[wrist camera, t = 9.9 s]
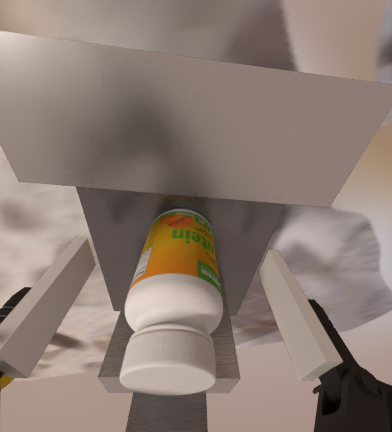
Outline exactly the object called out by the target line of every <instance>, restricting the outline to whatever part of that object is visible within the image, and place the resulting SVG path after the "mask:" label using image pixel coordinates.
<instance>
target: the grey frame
mask: <svg viewBox="0 0 392 432" xmlns="http://www.w3.org/2000/svg"><path fill="white" fill-rule="evenodd" d="M76 188H77V192H78V195H79V198H80V201H81V205H82V208H83V211H84V214H85V218H86V221H87V224H88V227H89V231H90V234H91V237H92V240H93V244H94V247H95V250H96V253H97V257H98V260H99V263H100V266H101V270H102V273H103V276H104V279H105V283H106V286H107V289H108V292H109V296H110V299H111V302H112V305H113V309H114V311H121V312H120V315H119V318H118V320H117V323H116V326H115V329H114V332H113V335H112V338H111V341H110V344H109V346H108V349H107V352H106V355H105V358H104V361H103V364H102V367H101V369H100V372H99V375H98V378H99V380H100V381H101V383H102V384H103V385H104V387H105V388H106V390H107V391H108V393H133V398H132V403H131V407H130V412H129V418H128V422H127V427H126V432H208V430H207V408H206V407H207V406H206V393H230V392H231V390H232V389H233V388H234V386H235V385H236V384H237V383H238V381H239V380H240V373H239V367H238V361H237V355H236V350H235V344H234V338H233V332H232V326H231V320H230V315H236V314H237V312H238V310H239V307H240V305H241V303H242V301H243V298H244V296H245V294H246V292H247V289H248V287H249V285H250V283H251V280H252V278H253V276H254V274H255V271H256V269H257V267H258V265H259V262H260V260H261V258H262V256H263V253H264V251H265V249H266V247H267V244H268V242H269V240H270V238H271V235H272V233H273V231H274V229H275V226H276V224H277V222H278V220H279V217H280V215H281V213H282V211H283V208H284V206H285V204H281V203H269V202H257V201H245V200H233V199H221V198H209V197H197V196H185V195H173V194H161V193H149V192H137V191H125V190H113V189H101V188H89V187H77V186H76ZM173 209H188V210H192V211H195V212H197V213H199V214H200V215H202V216H203V217H204V218H205V219H206V220H207V221H208V222H209V224H210V226H211V229H212V233H213V239H214V247H215V254H216V260H217V267H218V274H219V281H220V287H221V294H222V302H223V315H222V318H221V321H220V323H219V325H218V326H217V328H216V329H215V330H214V331H213V332H212V333H211V334H209V335H210V336H211V338H212V339H213V346H214V349H215V363H216V382H215V384H214V385H213V386H212V387H210V388H208V389H207V390H204V391H200V392H196V393H192V394H185V395H152V394H146V393H141V392H137V391H134V390H131V389H128V388H126V387H125V386H123V385H122V384H121V382H120V378H119V377H120V372H121V368H122V364H123V360H124V356H125V352H126V347H127V344H128V343H129V340H130V338H131V336H132V335H133V334H134V333H135V331H134V330H133V329H132V328H131V327H130V326H129V324H128V322H127V320H126V317H125V302H126V299H127V295H128V292H129V289H130V286H131V283H132V281H133V278H134V275H135V272H136V269H137V266H138V263H139V260H140V257H141V254H142V251H143V248H144V245H145V242H146V240H147V237H148V234H149V231H150V228H151V226H152V224H153V222H154V221H155V219H156V218H157V217H158V216H159V215H161V214H162V213H164V212H166V211H169V210H173Z"/></svg>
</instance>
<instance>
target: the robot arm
mask: <svg viewBox="0 0 392 432" xmlns="http://www.w3.org/2000/svg"><path fill="white" fill-rule="evenodd" d="M95 265H96V264H95V261H94V257H93V254H92V251H91V248H90V245H89V242H88V239H87V238H77V237H76V238H75V239H74V240H73V241H72V242H71V244H70V245H69V246H68V247H67V248H66V249H65V250H64V252H63V253H62V254H61V255H60V256H59V257H58V258H57V260H56V261H55V262H54V263H53V264H52V265H51V267H50V268H49V269H48V270H47V271H46V272H45V273H44V275H43V276H42V277H41V278H40V279H39V280H38V281H37V283H36V284H35V285H34V286H33V287H32V288H30V287H24V288H23V289H21V290H20V291H19V292H17V293H16V294H14V295H13V296H12V297H11V298H10V299H9V300H8V301H7V302H6V303H5V304H4V305H3V308H1V309H0V379H1V377H2V376H3V375H4V374H5V375H7V376H9V377H10V378H29V376H30V374H31V372H32V371H33V369H34V367H35V366H36V364H37V362H38V361H39V359H40V357H41V356H42V354H43V352H44V351H45V349H46V347H47V346H48V344H49V342H50V341H51V339H52V337H53V336H54V334H55V332H56V331H57V329H58V327H59V326H60V324H61V322H62V321H63V319H64V317H65V316H66V314H67V312H68V311H69V309H70V307H71V306H72V304H73V302H74V301H75V299H76V297H77V296H78V294H79V292H80V291H81V289H82V287H83V286H84V284H85V282H86V281H87V279H88V277H89V276H90V274H91V272H92V271H93V269H94V267H95ZM258 275H259V278H260V280H261V283H262V286H263V288H264V291H265V293H266V296H267V299H268V301H269V304H270V307H271V309H272V312H273V315H274V317H275V320H276V322H277V325H278V328H279V330H280V333H281V336H282V338H283V341H284V343H285V346H286V349H287V351H288V354H289V357H290V359H291V362H292V364H293V367H294V370H295V372H296V375H297V378H298V380H299V381H313V380H315V379H317V378H318V377H319V379H320V381H321V383H322V384H321V385H319V386H317V387H315V388H314V390H313V393H314V394H316V393H318V392H319V396H318V397H319V398H318V404H317V412H316V420H315V427H314V432H392V386H391V385H388V384H386V383H383V382H381V381H379V380H377V379H376V378H375V377H374V376H373V375H372V374H370V373H369V372H368V371H367V370H366V369H364V368H362V367H360V366H359V365H358V363H357V362H356V361H355V359H354V358H353V356H352V355H351V353H350V351H349V350H348V348H347V347H346V345H345V343H344V342H343V340H342V339H341V337H340V335H339V334H338V332H337V331H336V329H335V328H334V327H333V324H332V323H331V321H330V320H329V319H328V316H327V315H326V313H325V312H324V310H323V308H322V307H321V306H320V305H319V304H318V303H317V302H316V301H315V300H309V299H307V298H306V297H305V295H304V293H303V291H302V290H301V288H300V286H299V285H298V283H297V281H296V279H295V278H294V276H293V274H292V272H291V271H290V269H289V267H288V266H287V264H286V262H285V260H284V259H283V257H282V255H281V253H280V252H279V250H269V251H268V253H267V255H266V257H265V259H264V262H263V264H262V266H261V268H260V270H259V272H258ZM0 390H1V385H0Z"/></svg>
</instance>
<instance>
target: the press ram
mask: <svg viewBox="0 0 392 432" xmlns="http://www.w3.org/2000/svg"><path fill="white" fill-rule="evenodd" d="M391 106H392V85H389V84H382V83H375V82H367V81H360V80H353V79H345V78H338V77H331V76H324V75H317V74H310V73H302V72H295V71H288V70H281V69H273V68H266V67H259V66H251V65H244V64H237V63H230V62H222V61H215V60H208V59H201V58H193V57H186V56H179V55H172V54H164V53H157V52H150V51H143V50H135V49H128V48H121V47H114V46H106V45H99V44H92V43H85V42H77V41H70V40H63V39H56V38H48V37H41V36H34V35H27V34H19V33H12V32H5V31H0V145H1V147H2V149H3V151H4V153H5V155H6V157H7V159H8V161H9V163H10V165H11V167H12V169H13V171H14V173H15V175H16V177H17V179H18V181H19V182H28V183H41V184H53V185H65V186H77V187H89V188H101V189H113V190H125V191H137V192H149V193H161V194H173V195H185V196H197V197H209V198H221V199H233V200H245V201H257V202H269V203H281V204H293V205H305V206H317V207H330V206H331V204H332V202H333V201H334V199H335V198H336V196H337V194H338V193H339V191H340V189H341V188H342V186H343V184H344V183H345V181H346V180H347V178H348V176H349V175H350V173H351V171H352V170H353V168H354V167H355V165H356V163H357V162H358V160H359V158H360V157H361V155H362V154H363V152H364V150H365V149H366V147H367V145H368V144H369V142H370V141H371V139H372V137H373V136H374V134H375V132H376V131H377V129H378V128H379V126H380V124H381V123H382V121H383V119H384V118H385V116H386V114H387V113H388V111H389V110H390V108H391Z"/></svg>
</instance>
